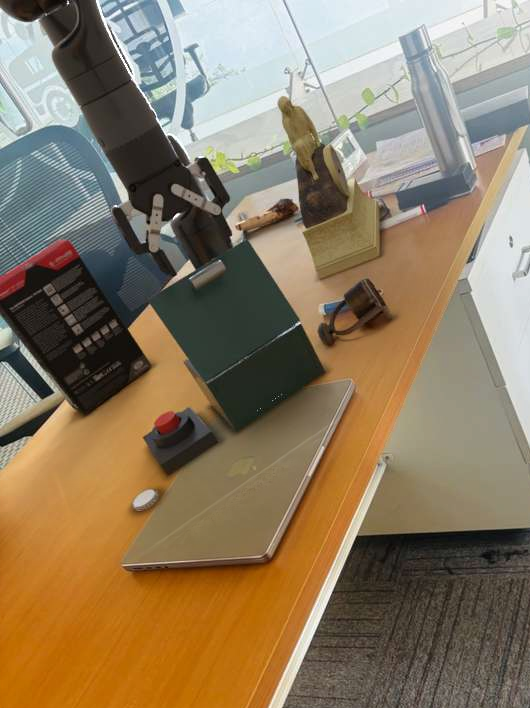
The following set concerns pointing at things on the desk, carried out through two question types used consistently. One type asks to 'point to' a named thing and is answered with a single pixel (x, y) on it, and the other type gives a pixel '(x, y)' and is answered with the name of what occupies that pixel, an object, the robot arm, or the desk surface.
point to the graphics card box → (70, 326)
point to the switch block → (180, 441)
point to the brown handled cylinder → (356, 309)
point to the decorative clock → (329, 200)
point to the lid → (224, 310)
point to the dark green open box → (262, 377)
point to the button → (167, 422)
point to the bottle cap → (145, 499)
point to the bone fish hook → (269, 215)
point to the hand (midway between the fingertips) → (200, 258)
